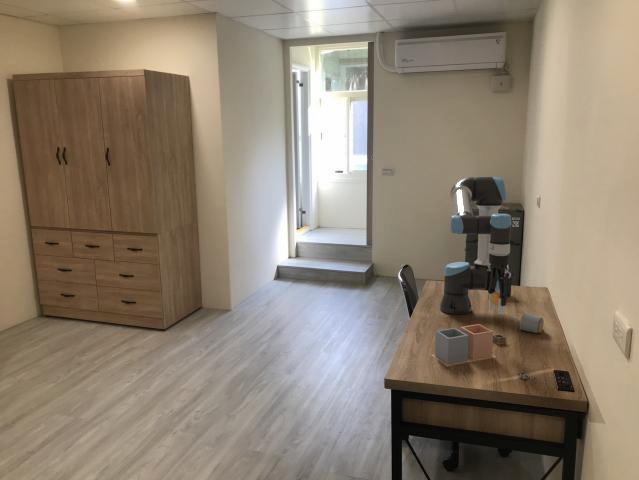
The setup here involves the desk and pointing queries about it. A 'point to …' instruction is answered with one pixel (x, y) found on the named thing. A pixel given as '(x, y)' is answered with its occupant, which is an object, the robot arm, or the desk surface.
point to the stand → (499, 339)
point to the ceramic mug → (531, 323)
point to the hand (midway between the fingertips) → (496, 311)
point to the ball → (495, 298)
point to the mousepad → (525, 376)
